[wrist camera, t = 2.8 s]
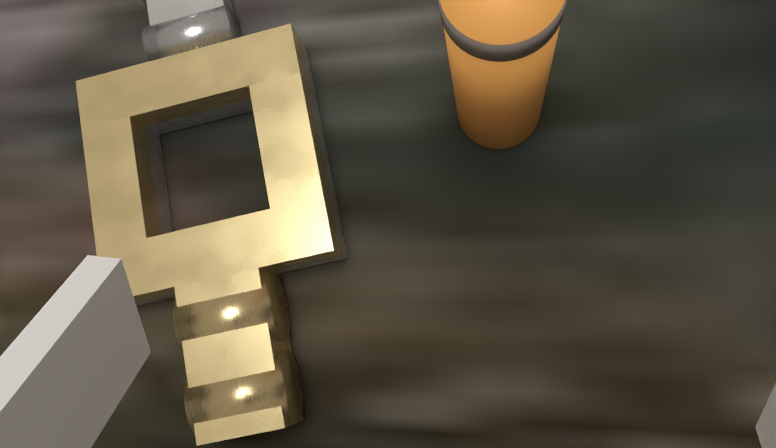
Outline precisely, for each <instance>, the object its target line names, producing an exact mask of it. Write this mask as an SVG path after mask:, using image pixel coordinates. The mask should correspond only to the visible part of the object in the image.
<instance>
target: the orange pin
mask: <svg viewBox="0 0 776 448" xmlns="http://www.w3.org/2000/svg"><path fill="white" fill-rule="evenodd" d="M566 2H567V0H438V3H439V9H440V15H441V20H442V23H443V26H444V31H445V38H446V44H447V51H448V57H449V64H450V70H451V77H452V83H453V90H454V96H455V103H456V109H457V115H458V120H459V124H460V126H461V128H462V130H463V131H464V133H465V134H466V135H467V136H468V137H469V138H470V139H471V140H472V141H474V142H475V143H477V144H479V145H481V146H483V147H486V148H491V149H505V148H510V147H513V146H515V145H518V144H520V143H521V142H523V141H524V140H525V139H527V138H528V137H529V136H530V135H531V134H532V132H533V131H534V130H535V128H536V126H537V124H538V122H539V119H540V114H541V110H542V105H543V101H544V96H545V91H546V87H547V82H548V78H549V73H550V68H551V64H552V59H553V55H554V50H555V45H556V41H557V36H558V32H559V27H560V24H561V21H562V19H563V16H564V11H565V7H566Z"/></svg>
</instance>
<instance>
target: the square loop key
mask: <svg viewBox="0 0 776 448" xmlns="http://www.w3.org/2000/svg"><path fill="white" fill-rule="evenodd" d="M143 1H144V2H145V4H146V5H147V8H148V15H149V22H150V26H147V27H144V28H143V30H142V41H143V45H144V49H145V51H146V54H147V56H148V58H149V60H150V61H149V62H145V63H142V64H138V65H134V66H130V67H127V68H123V69H119V70H116V71H112V72H108V73H104V74H101V75H97V76H93V77H89V78H86V79H82V80H78V81H76V88H77V96H78V104H79V112H80V121H81V129H82V137H83V145H84V154H85V162H86V170H87V179H88V187H89V195H90V203H91V212H92V220H93V228H94V236H95V245H96V253H97V256H99V257H109V258H119V259H122V262H123V266H124V269H125V272H126V275H127V278H128V281H129V285H130V288H131V291H132V294H133V297H134V300H135V304H136V306H139V305H143V304H147V303H152V302H156V301H161V300H165V299H170V298H174V297H176V298H175V300H174V304H173V315H172V316H173V327H174V332H175V336H176V339H177V342H178V344H179V346H180V348H181V350H182V352H183V353H184V360H185V367H186V374H187V378H186V381H185V387H184V405H185V411H186V416H187V419H188V422H189V425H190V427H191V429H192V431H193V433H194V434H195V437H196V444H197V445H202V444H207V443H212V442H218V441H223V440H228V439H233V438H238V437H243V436H248V435H253V434H258V433H263V432H268V431H273V430H278V429H283V428H286V427H289V426H291V425H293V424H295V423H298V422H300V421H302V420H304V417H303V387H302V381H301V376H300V372H299V369H298V366H297V363H296V360H295V358H294V356H293V353H292V347H291V342H290V336H289V333H290V313H289V306H288V301H287V297H286V294H285V291H284V288H283V285H282V283H281V281H280V278H279V274H280V273H285V272H289V271H294V270H298V269H303V268H307V267H311V266H316V265H320V264H325V263H329V262H334V261H338V260H342V259H347V258H348V256H347V251H346V246H345V241H344V236H343V230H342V225H341V220H340V215H339V210H338V205H337V199H336V194H335V189H334V184H333V179H332V174H331V168H330V163H329V158H328V153H327V148H326V142H325V137H324V132H323V127H322V122H321V117H320V111H319V106H318V101H317V96H316V91H315V86H314V80H313V75H312V70H311V65H310V60H309V55H308V50H307V48H306V47H305V45H304V44H303V42H302V40H301V39H300V37H299V36H298V34H297V33H296V31H295V29H294V28H293V26H292V25H291V24H287V25H284V26H280V27H276V28H272V29H269V30H265V31H261V32H257V33H254V34H250V35H246V36H241V31H240V28H239V24H238V21H237V19H236V16H235V14H234V12H233V6H232V0H143ZM252 111H253V112H254V118H255V124H256V130H257V135H258V141H259V147H260V153H261V158H262V164H263V170H264V176H265V182H266V187H267V193H268V199H269V205H270V209H267V210H263V211H259V212H255V213H250V214H246V215H242V216H238V217H233V218H229V219H225V220H221V221H217V222H212V223H208V224H204V225H200V226H195V227H191V228H187V229H183V230H179V231H173V224H172V217H171V210H170V203H169V196H168V189H167V182H166V175H165V168H164V161H163V154H162V147H161V141H160V135H161V134H165V133H169V132H173V131H177V130H181V129H185V128H189V127H193V126H197V125H201V124H204V123H208V122H212V121H216V120H220V119H224V118H228V117H232V116H236V115H240V114H244V113H248V112H252Z"/></svg>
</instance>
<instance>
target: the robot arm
mask: <svg viewBox="0 0 776 448" xmlns="http://www.w3.org/2000/svg"><path fill="white" fill-rule="evenodd" d="M150 352H151V351H150V348H149V345H148V342H147V339H146V335H145V332H144V329H143V326H142V323H141V320H140V316H139V313H138V310H137V307H136V304H135V300H134V297H133V294H132V291H131V288H130V285H129V281H128V278H127V275H126V272H125V269H124V266H123V262H122V259H119V258H109V257H99V256H89V255H87V257H86V258H85V259H84V260H83V261H82V262H81V264H80V265H79V266H78V267H77V268H76V269H75V271H74V272H73V273H72V274H71V275H70V276H69V278H68V279H67V280H66V281H65V282H64V283H63V285H62V286H61V287H60V288H59V289H58V290H57V291H56V293H55V294H54V295H53V296H52V297H51V298H50V300H49V301H48V302H47V303H46V304H45V305H44V307H43V308H42V309H41V310H40V311H39V312H38V314H37V315H36V316H35V317H34V318H33V319H32V321H31V322H30V323H29V324H28V325H27V326H26V327H25V329H24V330H23V331H22V332H21V333H20V334H19V336H18V337H17V338H16V339H15V340H14V341H13V343H12V344H11V345H10V346H9V347H8V348H7V350H6V351H5V352H4V353H3V354H2V355H1V357H0V448H91V447H92V445H93V444H94V442H95V440H96V439H97V437H98V436H99V434H100V432H101V431H102V429H103V428H104V426H105V424H106V423H107V421H108V420H109V418H110V416H111V415H112V413H113V412H114V410H115V408H116V407H117V405H118V404H119V402H120V400H121V399H122V397H123V396H124V394H125V392H126V391H127V389H128V388H129V386H130V384H131V383H132V381H133V380H134V378H135V376H136V375H137V373H138V372H139V370H140V368H141V367H142V365H143V364H144V362H145V360H146V359H147V357H148V356H149V354H150ZM755 428H756V431H757V434H758V437H759V440H760V443H761V447H762V448H776V383H775V385H774V388H773V390H772V392H771V394H770V396H769V398H768V401H767V403H766V405H765V407H764V409H763V411H762V414H761V416H760V418H759V420H758V422H757V424H756V427H755Z"/></svg>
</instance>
